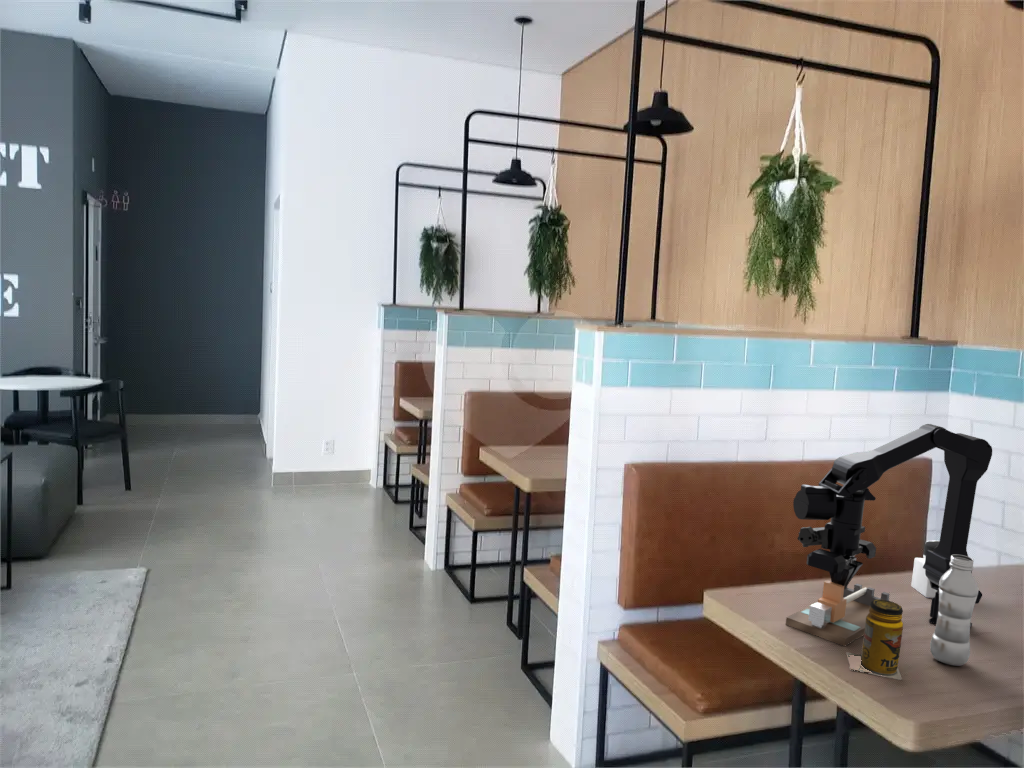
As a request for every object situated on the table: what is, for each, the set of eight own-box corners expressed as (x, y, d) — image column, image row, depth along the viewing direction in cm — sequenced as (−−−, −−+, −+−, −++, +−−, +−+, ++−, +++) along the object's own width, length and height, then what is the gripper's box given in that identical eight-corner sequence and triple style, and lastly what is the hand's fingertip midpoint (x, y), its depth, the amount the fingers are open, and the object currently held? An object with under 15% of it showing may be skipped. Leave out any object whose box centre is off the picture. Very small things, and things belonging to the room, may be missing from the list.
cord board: (892, 617, 166) (893, 610, 166) (844, 646, 150) (845, 638, 150) (836, 599, 175) (837, 592, 175) (785, 624, 159) (786, 616, 159)
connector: (829, 626, 156) (831, 607, 155) (822, 630, 154) (824, 610, 153) (814, 621, 158) (817, 602, 157) (807, 625, 156) (810, 605, 155)
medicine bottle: (957, 600, 179) (964, 548, 178) (925, 598, 179) (932, 546, 178) (940, 588, 186) (947, 539, 185) (910, 586, 186) (916, 536, 185)
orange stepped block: (844, 616, 159) (848, 584, 159) (833, 622, 156) (837, 589, 155) (827, 610, 162) (830, 578, 161) (815, 616, 159) (819, 583, 158)
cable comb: (887, 609, 167) (889, 593, 166) (885, 610, 166) (887, 594, 165) (840, 594, 174) (842, 579, 173) (838, 595, 173) (840, 580, 172)
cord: (868, 593, 170) (869, 588, 170) (826, 615, 156) (826, 609, 156) (862, 592, 171) (863, 586, 170) (820, 613, 157) (820, 607, 157)
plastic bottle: (958, 655, 150) (972, 553, 147) (975, 672, 143) (990, 565, 141) (922, 651, 150) (935, 550, 148) (937, 668, 144) (952, 562, 141)
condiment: (902, 680, 138) (910, 614, 137) (849, 670, 141) (857, 606, 139) (895, 662, 145) (903, 600, 144) (845, 653, 147) (853, 591, 146)
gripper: (828, 504, 171) (820, 573, 172) (785, 516, 158) (777, 592, 160) (881, 517, 163) (871, 590, 164) (840, 531, 150) (831, 610, 152)
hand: (837, 595), depth 160 cm, fingers closed
